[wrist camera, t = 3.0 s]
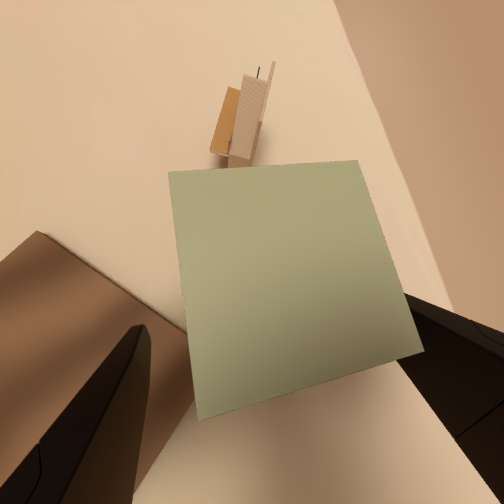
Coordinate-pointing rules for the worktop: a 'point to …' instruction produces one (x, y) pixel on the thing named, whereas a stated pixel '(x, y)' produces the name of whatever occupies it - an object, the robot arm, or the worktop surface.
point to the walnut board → (75, 348)
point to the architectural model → (241, 121)
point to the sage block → (283, 281)
